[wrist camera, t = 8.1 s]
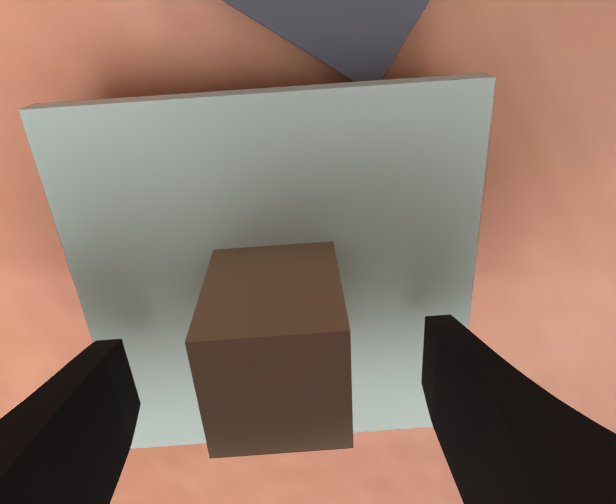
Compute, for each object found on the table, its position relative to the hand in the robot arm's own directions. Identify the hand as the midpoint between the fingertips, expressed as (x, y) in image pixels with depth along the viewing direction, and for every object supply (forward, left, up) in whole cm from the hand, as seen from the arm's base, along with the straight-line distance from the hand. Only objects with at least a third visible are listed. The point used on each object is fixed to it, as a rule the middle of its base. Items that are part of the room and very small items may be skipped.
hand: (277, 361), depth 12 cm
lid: (0, 0, -3) cm, 3 cm away
